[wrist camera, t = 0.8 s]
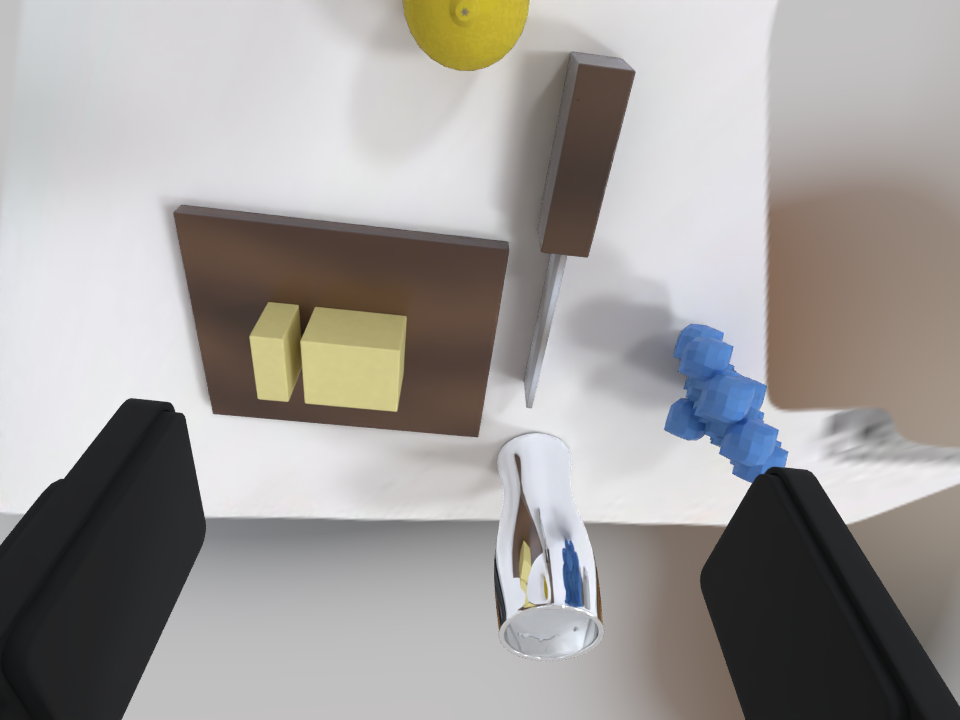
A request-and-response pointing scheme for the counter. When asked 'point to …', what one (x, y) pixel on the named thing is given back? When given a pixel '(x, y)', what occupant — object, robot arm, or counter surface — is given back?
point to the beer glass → (543, 556)
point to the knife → (577, 178)
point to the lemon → (466, 29)
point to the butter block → (353, 359)
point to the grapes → (722, 405)
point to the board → (349, 286)
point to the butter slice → (276, 351)
